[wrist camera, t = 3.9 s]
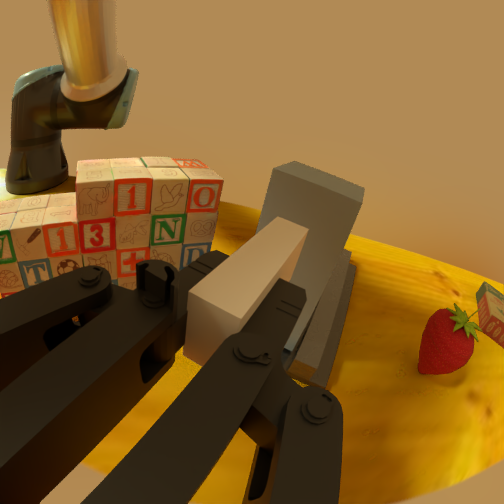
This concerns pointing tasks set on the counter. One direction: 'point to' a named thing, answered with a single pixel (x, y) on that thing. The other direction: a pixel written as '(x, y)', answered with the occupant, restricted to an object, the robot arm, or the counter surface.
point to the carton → (491, 312)
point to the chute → (322, 329)
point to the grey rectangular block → (312, 225)
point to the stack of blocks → (111, 221)
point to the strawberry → (447, 342)
